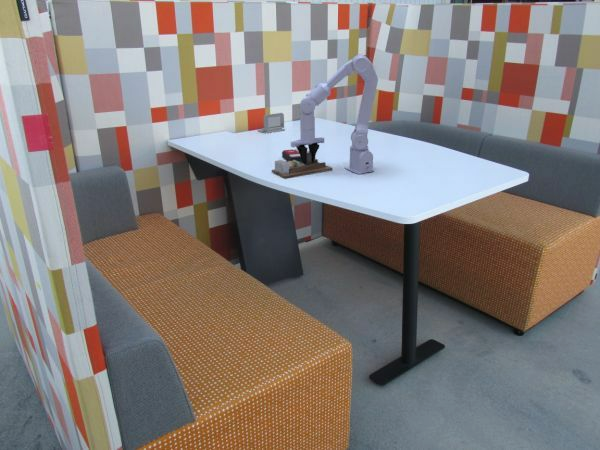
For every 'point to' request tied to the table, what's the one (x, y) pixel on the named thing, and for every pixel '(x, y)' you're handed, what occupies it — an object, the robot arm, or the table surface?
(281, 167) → the anvil
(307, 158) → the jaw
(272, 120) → the handheld gaming console
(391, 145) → the table surface
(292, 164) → the ball
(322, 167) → the base
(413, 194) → the table surface
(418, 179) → the table surface
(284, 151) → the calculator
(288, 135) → the table surface
